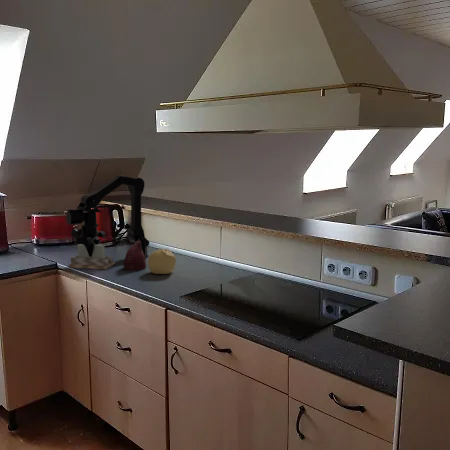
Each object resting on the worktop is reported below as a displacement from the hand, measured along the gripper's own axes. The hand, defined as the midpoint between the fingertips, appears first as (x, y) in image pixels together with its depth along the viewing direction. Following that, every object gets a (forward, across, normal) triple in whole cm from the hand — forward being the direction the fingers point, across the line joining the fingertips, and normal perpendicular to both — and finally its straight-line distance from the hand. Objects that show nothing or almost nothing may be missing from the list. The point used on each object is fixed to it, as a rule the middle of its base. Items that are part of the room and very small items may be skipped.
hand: (91, 255), depth 223 cm
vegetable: (+5, 0, +21) cm, 22 cm away
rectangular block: (+2, 0, 0) cm, 2 cm away
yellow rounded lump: (+5, +6, +36) cm, 37 cm away
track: (+5, 0, 0) cm, 5 cm away
